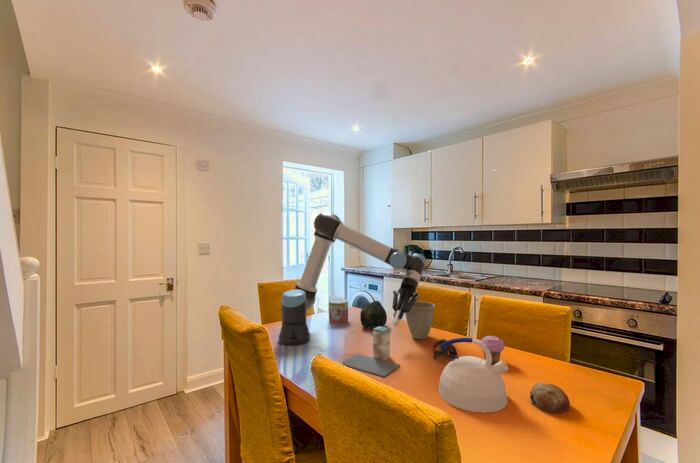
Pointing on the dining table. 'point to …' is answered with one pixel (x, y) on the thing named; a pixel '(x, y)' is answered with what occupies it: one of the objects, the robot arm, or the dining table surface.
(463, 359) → the kettle
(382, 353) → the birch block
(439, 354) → the vr controller
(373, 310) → the squash
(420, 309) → the plant pot
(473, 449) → the dining table surface
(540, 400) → the brown rounded lump
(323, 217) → the robot arm
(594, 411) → the dining table surface
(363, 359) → the mat
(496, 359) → the cupcake
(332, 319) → the canned food
